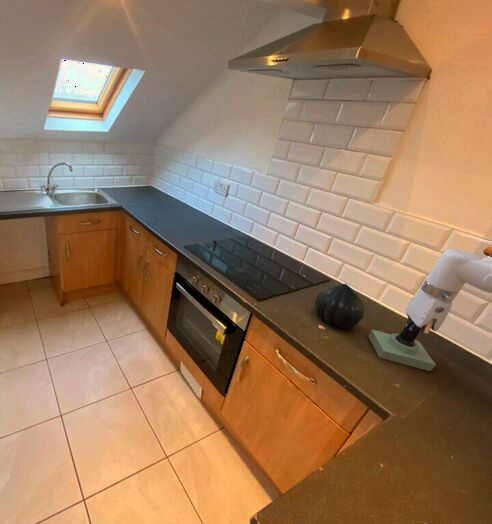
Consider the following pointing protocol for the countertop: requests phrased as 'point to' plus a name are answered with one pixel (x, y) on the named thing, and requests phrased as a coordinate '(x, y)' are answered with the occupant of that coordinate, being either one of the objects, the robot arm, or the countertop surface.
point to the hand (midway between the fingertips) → (406, 338)
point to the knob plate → (400, 351)
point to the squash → (339, 306)
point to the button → (405, 341)
